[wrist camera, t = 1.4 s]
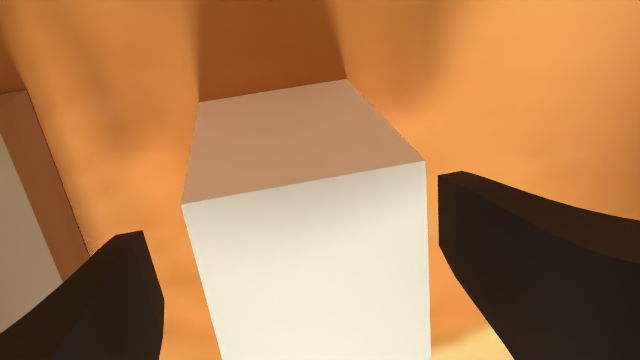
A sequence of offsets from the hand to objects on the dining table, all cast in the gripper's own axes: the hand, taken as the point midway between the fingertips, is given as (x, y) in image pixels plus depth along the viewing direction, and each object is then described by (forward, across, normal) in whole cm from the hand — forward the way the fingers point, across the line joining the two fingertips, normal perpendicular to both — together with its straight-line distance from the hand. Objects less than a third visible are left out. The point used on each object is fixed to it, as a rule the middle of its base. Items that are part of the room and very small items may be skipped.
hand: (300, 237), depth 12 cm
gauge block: (+3, 0, 0) cm, 3 cm away
